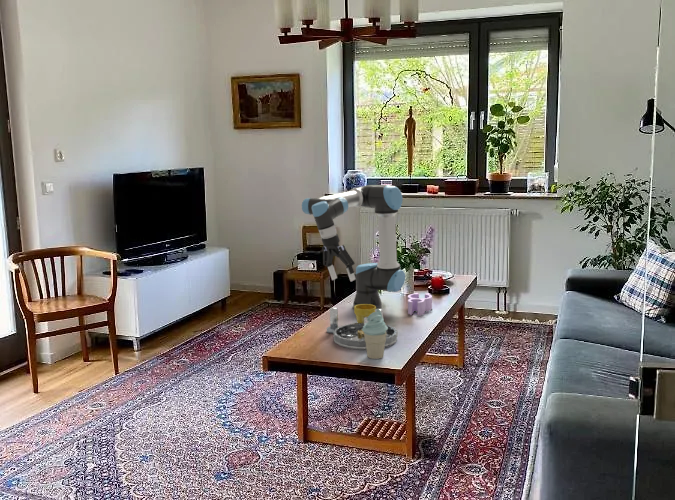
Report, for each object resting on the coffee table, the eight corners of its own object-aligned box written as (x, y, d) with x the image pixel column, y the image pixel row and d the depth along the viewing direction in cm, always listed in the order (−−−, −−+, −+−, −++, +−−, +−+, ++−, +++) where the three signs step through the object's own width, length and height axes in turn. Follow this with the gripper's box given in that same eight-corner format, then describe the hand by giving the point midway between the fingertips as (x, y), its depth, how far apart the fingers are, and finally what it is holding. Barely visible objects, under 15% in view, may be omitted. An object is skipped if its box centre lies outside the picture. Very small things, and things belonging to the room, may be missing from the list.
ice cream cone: (357, 357, 274) (356, 310, 271) (375, 350, 282) (375, 304, 278) (375, 362, 267) (375, 314, 264) (394, 355, 275) (393, 308, 271)
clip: (426, 316, 332) (426, 302, 331) (402, 314, 336) (402, 301, 335) (434, 306, 351) (434, 293, 350) (411, 304, 355) (411, 292, 354)
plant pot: (378, 323, 321) (378, 304, 319) (373, 330, 311) (373, 309, 309) (357, 322, 323) (357, 303, 322) (352, 328, 314) (351, 308, 312)
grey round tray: (347, 327, 315) (346, 302, 313) (405, 333, 305) (405, 307, 302) (323, 345, 290) (322, 318, 288) (385, 352, 279) (385, 324, 277)
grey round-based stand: (330, 328, 315) (329, 305, 313) (344, 329, 312) (343, 307, 310) (324, 332, 309) (323, 309, 307) (338, 334, 306) (337, 311, 304)
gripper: (306, 239, 304) (321, 281, 309) (340, 238, 284) (355, 284, 289) (319, 233, 308) (333, 275, 313) (352, 232, 289) (367, 277, 294)
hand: (343, 279), depth 301 cm, fingers open, 13 cm apart
